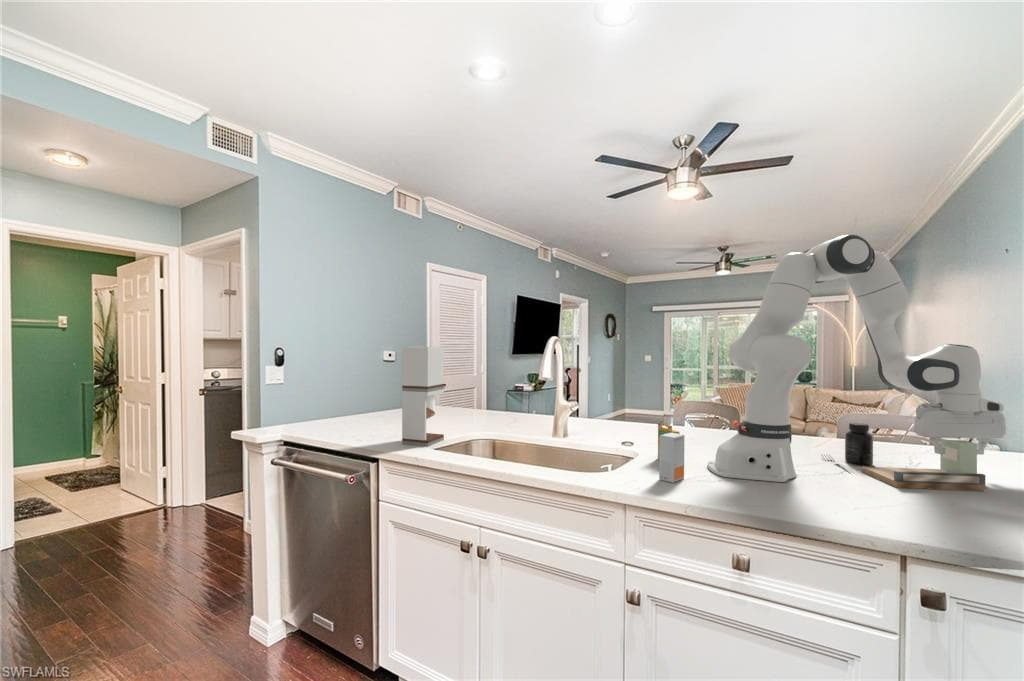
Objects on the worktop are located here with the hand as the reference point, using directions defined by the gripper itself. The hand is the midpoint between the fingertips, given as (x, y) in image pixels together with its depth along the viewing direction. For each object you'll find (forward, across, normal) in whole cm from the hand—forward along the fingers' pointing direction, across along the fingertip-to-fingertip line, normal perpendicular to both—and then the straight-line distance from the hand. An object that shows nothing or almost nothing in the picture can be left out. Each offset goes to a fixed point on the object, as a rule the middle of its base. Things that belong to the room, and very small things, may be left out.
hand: (958, 453), depth 125 cm
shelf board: (+6, -14, -5) cm, 16 cm away
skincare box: (+6, -78, -12) cm, 80 cm away
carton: (+6, 0, 0) cm, 6 cm away
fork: (+7, -26, +5) cm, 28 cm away
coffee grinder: (+4, -159, +24) cm, 161 cm away
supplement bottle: (+6, -18, +12) cm, 23 cm away
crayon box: (+6, -75, +7) cm, 76 cm away
